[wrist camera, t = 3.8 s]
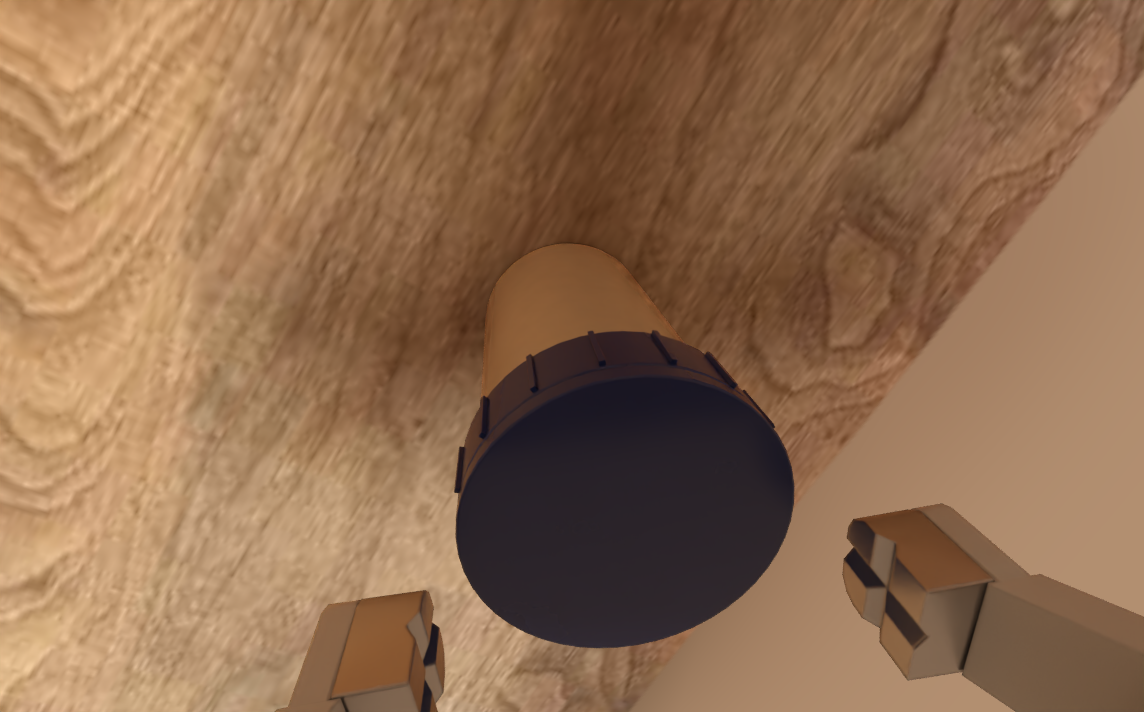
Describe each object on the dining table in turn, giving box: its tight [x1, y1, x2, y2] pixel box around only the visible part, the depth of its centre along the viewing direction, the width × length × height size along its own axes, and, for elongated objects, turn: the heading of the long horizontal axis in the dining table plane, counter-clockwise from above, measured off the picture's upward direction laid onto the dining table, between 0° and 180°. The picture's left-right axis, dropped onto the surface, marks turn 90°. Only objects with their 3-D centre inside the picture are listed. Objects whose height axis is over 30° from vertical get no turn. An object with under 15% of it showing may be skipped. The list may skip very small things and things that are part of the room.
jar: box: [481, 243, 684, 398], centre depth 14 cm, size 5×5×10 cm
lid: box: [454, 330, 794, 648], centre depth 11 cm, size 6×6×2 cm
